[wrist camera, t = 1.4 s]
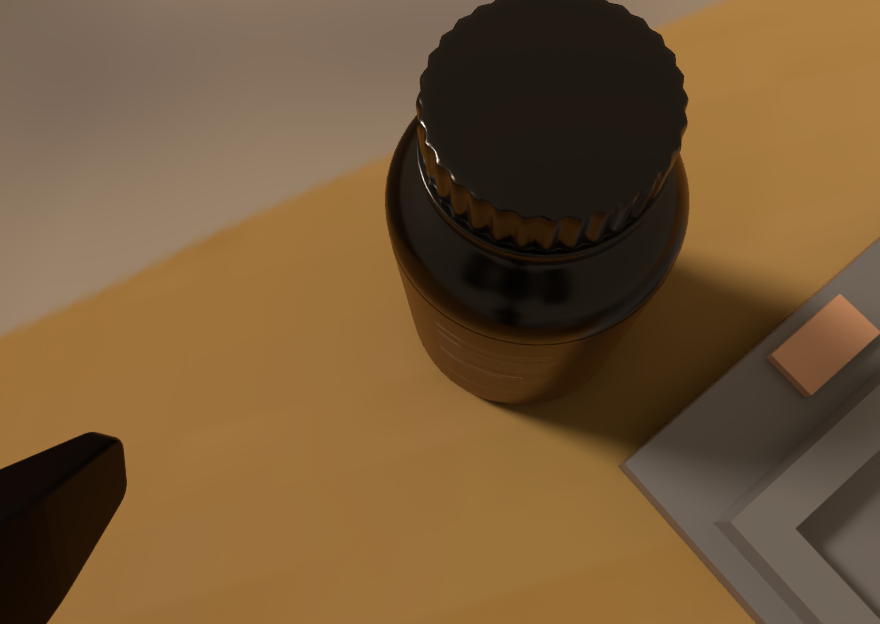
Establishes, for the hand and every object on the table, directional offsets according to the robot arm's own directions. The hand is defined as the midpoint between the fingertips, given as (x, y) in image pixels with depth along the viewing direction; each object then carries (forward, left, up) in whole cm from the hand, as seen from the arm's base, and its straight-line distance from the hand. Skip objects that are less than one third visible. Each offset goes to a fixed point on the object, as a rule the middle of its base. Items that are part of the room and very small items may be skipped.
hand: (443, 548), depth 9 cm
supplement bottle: (+6, +4, -13) cm, 15 cm away
